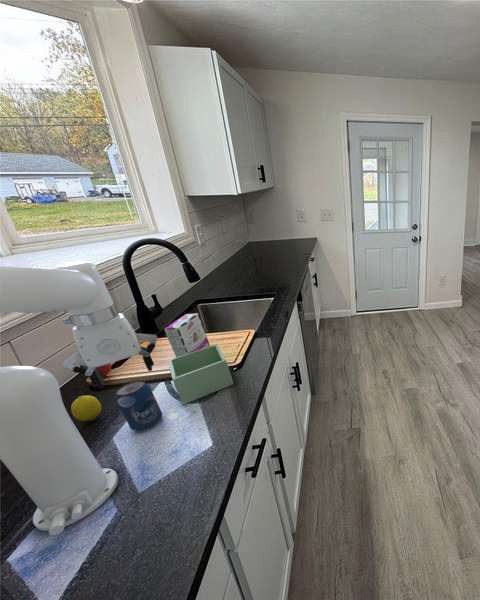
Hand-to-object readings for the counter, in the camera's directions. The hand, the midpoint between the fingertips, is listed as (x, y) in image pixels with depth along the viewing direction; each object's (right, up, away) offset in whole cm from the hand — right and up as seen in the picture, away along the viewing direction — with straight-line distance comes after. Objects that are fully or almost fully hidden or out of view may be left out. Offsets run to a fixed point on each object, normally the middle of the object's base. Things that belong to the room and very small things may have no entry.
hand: (126, 376), depth 78 cm
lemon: (-17, -14, +8) cm, 23 cm away
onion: (-32, -7, +28) cm, 43 cm away
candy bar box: (-4, -3, +33) cm, 33 cm away
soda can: (+1, -14, +6) cm, 15 cm away
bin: (+7, -7, +20) cm, 23 cm away
